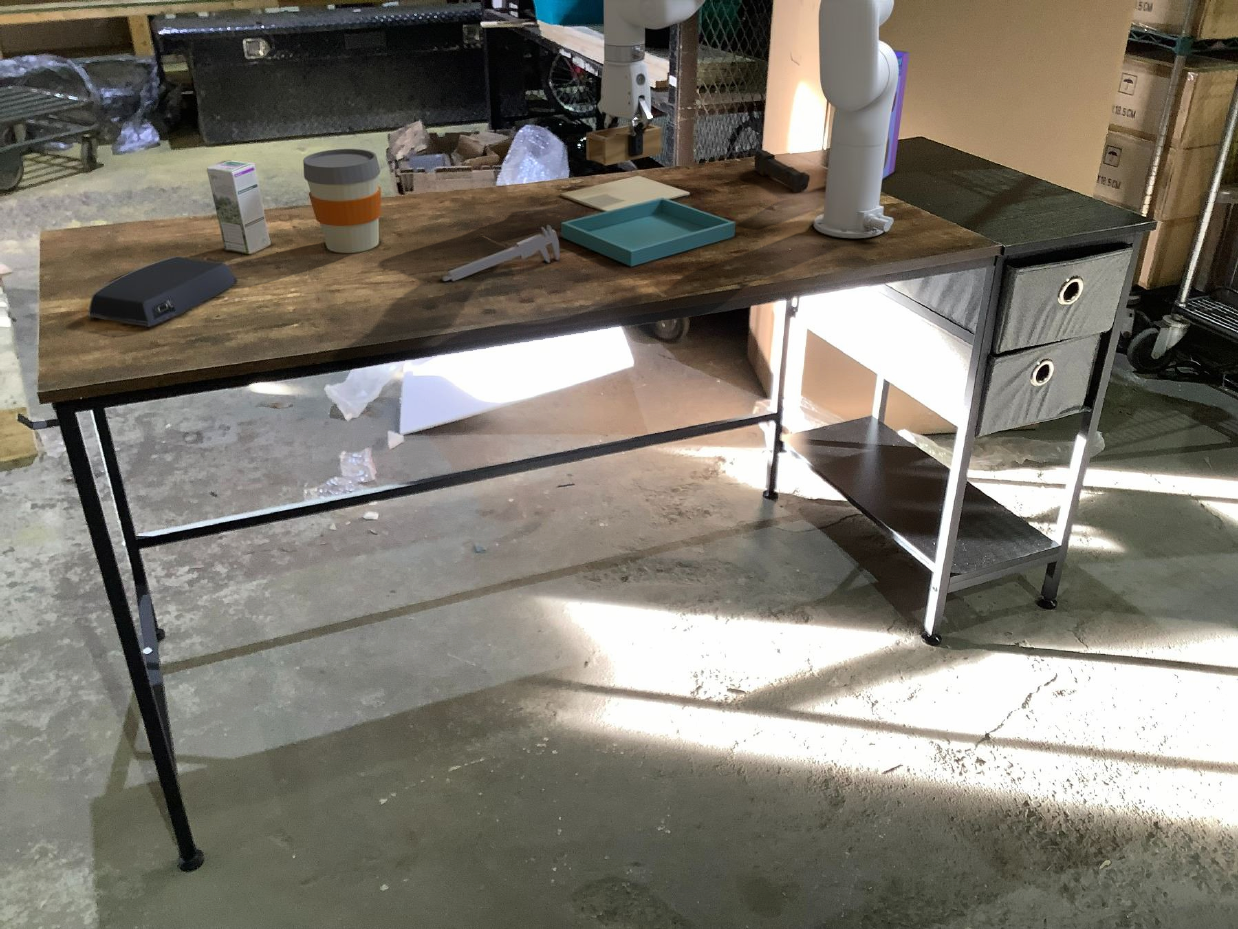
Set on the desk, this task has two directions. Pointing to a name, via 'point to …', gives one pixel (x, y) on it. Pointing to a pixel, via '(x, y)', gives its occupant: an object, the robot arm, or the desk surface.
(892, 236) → the desk surface
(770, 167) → the hand tool
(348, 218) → the reusable coffee cup
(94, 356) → the desk surface
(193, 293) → the hard drive
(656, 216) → the teal tray
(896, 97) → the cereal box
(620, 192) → the mat
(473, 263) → the caliper
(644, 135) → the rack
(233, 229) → the syrup box
